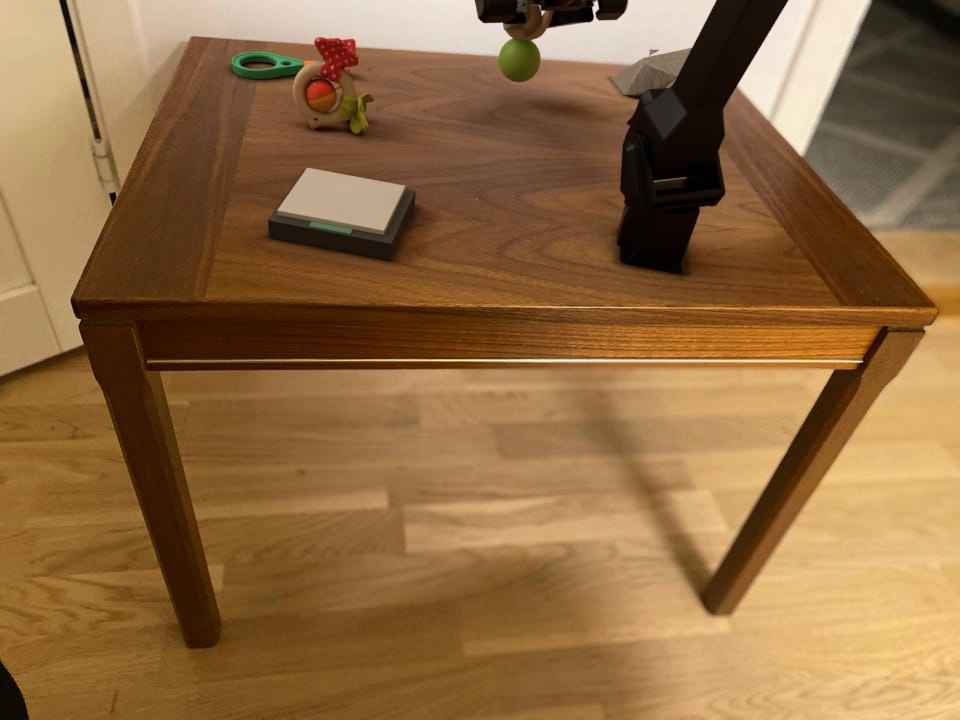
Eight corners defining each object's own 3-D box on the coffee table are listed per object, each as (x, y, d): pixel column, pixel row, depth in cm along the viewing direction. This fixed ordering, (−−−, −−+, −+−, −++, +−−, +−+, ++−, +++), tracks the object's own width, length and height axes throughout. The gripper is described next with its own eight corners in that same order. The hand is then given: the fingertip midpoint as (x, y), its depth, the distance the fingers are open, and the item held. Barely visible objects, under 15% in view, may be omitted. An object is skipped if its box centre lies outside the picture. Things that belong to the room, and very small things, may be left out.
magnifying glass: (229, 78, 95) (228, 64, 94) (235, 59, 100) (234, 46, 99) (349, 85, 98) (349, 72, 97) (350, 66, 102) (350, 54, 101)
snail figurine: (541, 93, 95) (557, -6, 87) (492, 84, 96) (504, -16, 88) (546, 78, 99) (563, -19, 91) (500, 69, 100) (512, -28, 92)
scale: (414, 207, 78) (416, 185, 76) (391, 260, 71) (391, 238, 69) (304, 186, 79) (302, 164, 77) (269, 237, 71) (266, 214, 69)
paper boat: (601, 87, 104) (603, 46, 109) (617, 121, 108) (617, 80, 113) (687, 57, 98) (685, 15, 103) (700, 94, 103) (697, 52, 108)
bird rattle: (317, 156, 87) (388, 128, 87) (271, 69, 80) (349, 38, 79) (315, 132, 92) (383, 105, 91) (271, 47, 84) (345, 17, 83)
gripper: (640, -116, 82) (576, -37, 97) (485, -123, 76) (441, -38, 91) (658, -16, 83) (591, 47, 97) (505, -16, 76) (458, 52, 91)
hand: (523, 25), depth 94 cm, fingers closed on snail figurine, 5 cm apart
